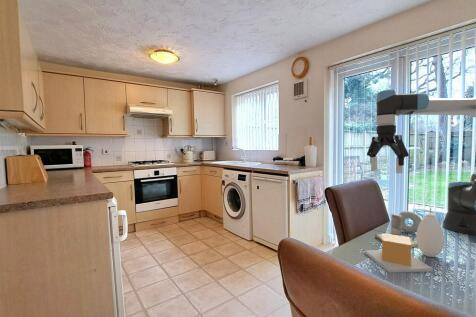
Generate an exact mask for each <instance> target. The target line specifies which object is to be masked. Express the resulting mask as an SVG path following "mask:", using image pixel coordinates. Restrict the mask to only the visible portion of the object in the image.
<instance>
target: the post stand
mask: <svg viewBox="0 0 476 317" xmlns="http://www.w3.org/2000/svg"><path fill="white" fill-rule="evenodd" d="M398 214H399V213H398ZM398 214H397V213H392V214H391V215H390V216H391V217H390V219H391V220H390V221H391V222H390V224H391V226H390V229H391V230H390V234H392V235H399V236H404V235H403V234H402V232H403V230H402V215H398ZM382 237H383V233H380V234H379V233H378V234H375V236H374V238H377V239H378V240H379V241H381V242H382ZM410 242H411V248H419V247H418V244H417V241H415V240H413V239H411V238H410Z"/></svg>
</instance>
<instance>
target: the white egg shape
mask: <svg viewBox="0 0 476 317" xmlns="http://www.w3.org/2000/svg"><path fill="white" fill-rule="evenodd" d="M421 220H422V221H421V222H420V224H419V226H418V229H417V232H416V234H415V235H416V242H417V244H418V247H417V248H418V249H419V250H420V252H422V253H423V255H424V256H426V257H428V258H434V257H435V258H436V256H439V255H441V253H442V252H443V250H444V247H445V235H444V231H443V228H442V226H441V223H440V221H438V219H437V218H436V215H435V214H434V213H432V207H431V206H430V207H429V213H425V216H424V217H423V218H421Z"/></svg>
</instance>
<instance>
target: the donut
mask: <svg viewBox="0 0 476 317" xmlns="http://www.w3.org/2000/svg"><path fill="white" fill-rule="evenodd" d="M398 215H402V232H404V233H408V234H415V233H417V229H418V226H419V224H420V222H421V221H422V218H421V216H419V214H417V213H416V212H413V211H410V210H407V211H406V210H405V211H402V212H400V213H398ZM407 219H410V220H411V222H412V225H409V224H407V223H406V222H405V220H407Z"/></svg>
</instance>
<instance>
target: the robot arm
mask: <svg viewBox="0 0 476 317" xmlns="http://www.w3.org/2000/svg"><path fill="white" fill-rule="evenodd" d="M413 115H414V116H415V115H416V116H419V115H420V116H423V115H424V116H429V115H430V116H434V115H435V116H442V115H443V116H470V117H471V118H476V96H475V97H472V98H430V96H429V95H428V93H425V92H416V93H415V92H414V93H402V94H400V93H398V92H397V90H396V89H392V88H391V89H382V90H380V91H378V92H377V94H376V125H377V126H376V135H377V136H372V137H371V142H370V145H369V147H368V149H367V150H368V151H367V152H366V156H367V157H369V158H370V159H369V161H370V162H369V163H370V171H371V172H375V171H376V172H377V171H378V157H377V155H378V154H379V152H380V151H381V150H382V148H383V147H384V146H387V147H390V149H391V150H392V151H393V153H394V154H395V155H396V158H395V174H403V166H404V164H405V158H407V157H409V156H410V155H409V152H408V150H407V148H406V145H405V143H404V141H403V136H402V135H401V134H396V133H397V126H396V123H397V116H398V117H399V116H413ZM442 227H443V228H444V229H446V230H449V231H453V232H457V233H462V234H467V235H468V234H469V235H476V179H474V181H450V182H448V187H447V212H446V214H445V216H444V219H443V220H442Z"/></svg>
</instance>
